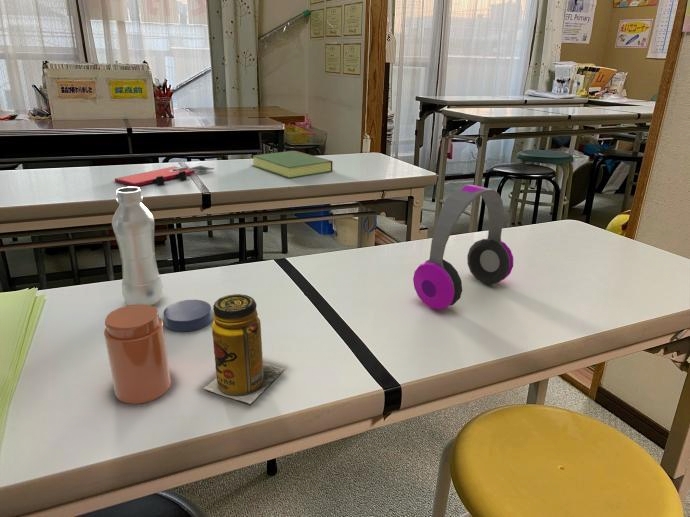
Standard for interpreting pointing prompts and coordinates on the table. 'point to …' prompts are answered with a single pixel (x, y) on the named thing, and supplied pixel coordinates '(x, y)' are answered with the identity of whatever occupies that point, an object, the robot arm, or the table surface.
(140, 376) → the jar
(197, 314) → the lid
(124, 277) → the plastic bottle
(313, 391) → the table surface
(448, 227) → the headphones
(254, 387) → the condiment
